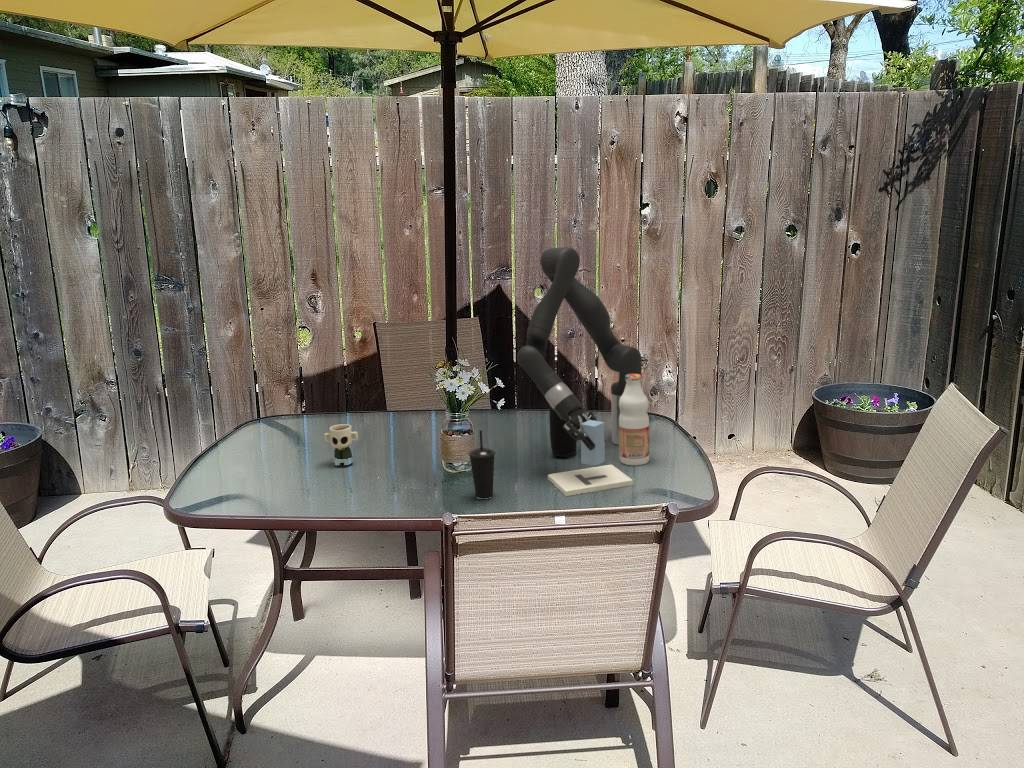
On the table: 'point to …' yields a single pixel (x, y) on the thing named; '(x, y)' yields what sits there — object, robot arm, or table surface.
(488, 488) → the drinking cup
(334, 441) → the character mug
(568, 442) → the portable speaker
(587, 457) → the slate pillar
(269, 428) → the table surface
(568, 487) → the letter board
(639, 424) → the fruit juice
